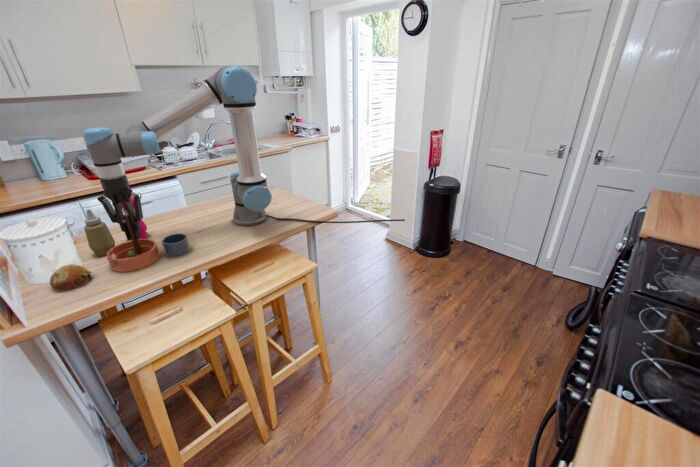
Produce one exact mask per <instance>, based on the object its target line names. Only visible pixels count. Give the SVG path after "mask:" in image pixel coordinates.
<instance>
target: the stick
mask: <svg viewBox="0 0 700 467" xmlns="http://www.w3.org/2000/svg"><path fill="white" fill-rule="evenodd" d="M123 214H124V215H123V217H124V220H125V223H126V226H127V229H128V231H129V234H130V237H131V240H132V243H133V245H134V248H135V251H136V254H137V255H140V254H142V253H143V252H142V249H141V246H140V243H139V240H135V237H134V234H133V231H132V228H131V226H130V223H131V219H130V217H129V215H128V214H125V213H123Z"/></svg>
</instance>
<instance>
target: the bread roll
mask: <svg viewBox="0 0 700 467" xmlns="http://www.w3.org/2000/svg"><path fill="white" fill-rule="evenodd" d="M91 273H92V271H90V270H88V269H87V267H84V266H82V265H79V264H73V263H71V264H65V265H62V266H61V267H59V268H57V269H56V270H55V271H53V273H52V274H51V276H50V277H49V285H50V286H51V288H52V289H53V290H55V291H58V292H64V291H71V290H75V289H78V288H80V287H82V286H84V285H86V284H87V283H88V282H89V281H90V279H92V276H91Z"/></svg>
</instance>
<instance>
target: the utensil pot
mask: <svg viewBox="0 0 700 467" xmlns="http://www.w3.org/2000/svg"><path fill="white" fill-rule="evenodd" d="M161 244H162V248H163V250H164V254H165V256H167V257H170V258H176V257H181V256H184V255H186V254H188V253H189V252H190V250H191V246H190V242H189V239H188V235H187V234H186V233H173V234H169V235H167V236H165V237H163V238H162V240H161Z"/></svg>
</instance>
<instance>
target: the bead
mask: <svg viewBox="0 0 700 467" xmlns="http://www.w3.org/2000/svg"><path fill="white" fill-rule="evenodd" d="M127 257H128V258H132V257H136V252H135V251H133V250H131V251H128V252H127Z"/></svg>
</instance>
